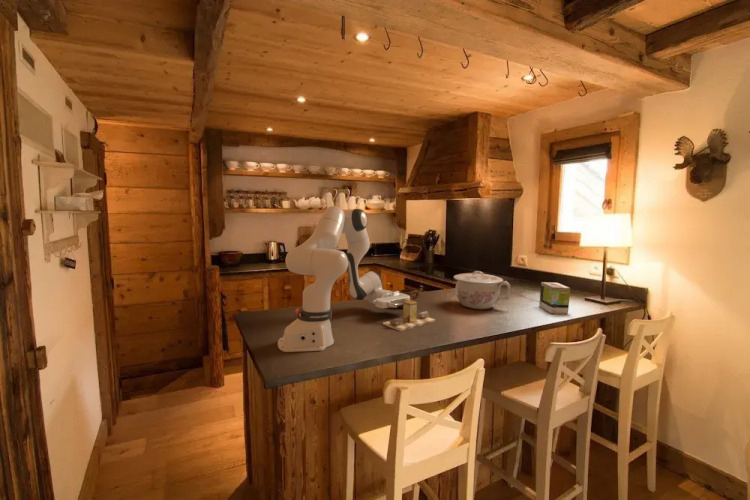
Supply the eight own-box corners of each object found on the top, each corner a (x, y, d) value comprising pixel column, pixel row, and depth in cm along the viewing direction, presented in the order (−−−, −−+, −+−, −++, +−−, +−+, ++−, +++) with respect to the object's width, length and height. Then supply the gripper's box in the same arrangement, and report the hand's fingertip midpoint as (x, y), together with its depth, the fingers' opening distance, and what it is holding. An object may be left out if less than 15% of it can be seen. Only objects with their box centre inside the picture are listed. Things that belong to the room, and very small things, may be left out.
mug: (414, 304, 216) (415, 288, 215) (421, 307, 209) (422, 291, 208) (396, 306, 211) (396, 289, 210) (402, 309, 204) (403, 292, 203)
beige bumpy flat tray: (400, 331, 168) (400, 323, 168) (383, 324, 178) (383, 316, 177) (435, 321, 184) (435, 313, 184) (417, 315, 193) (417, 308, 193)
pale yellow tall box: (409, 322, 177) (410, 303, 176) (403, 320, 181) (403, 301, 180) (416, 321, 180) (416, 301, 179) (409, 318, 184) (410, 300, 183)
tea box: (568, 314, 202) (571, 287, 200) (550, 313, 202) (552, 287, 200) (556, 306, 216) (558, 281, 215) (538, 306, 217) (540, 281, 215)
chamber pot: (442, 302, 220) (444, 268, 218) (479, 298, 232) (481, 266, 229) (473, 315, 195) (475, 277, 192) (513, 310, 206) (515, 273, 204)
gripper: (369, 295, 187) (388, 301, 176) (399, 290, 200) (418, 295, 189) (369, 307, 188) (387, 314, 177) (398, 301, 201) (417, 307, 190)
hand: (403, 304), depth 183 cm, fingers open, 8 cm apart
